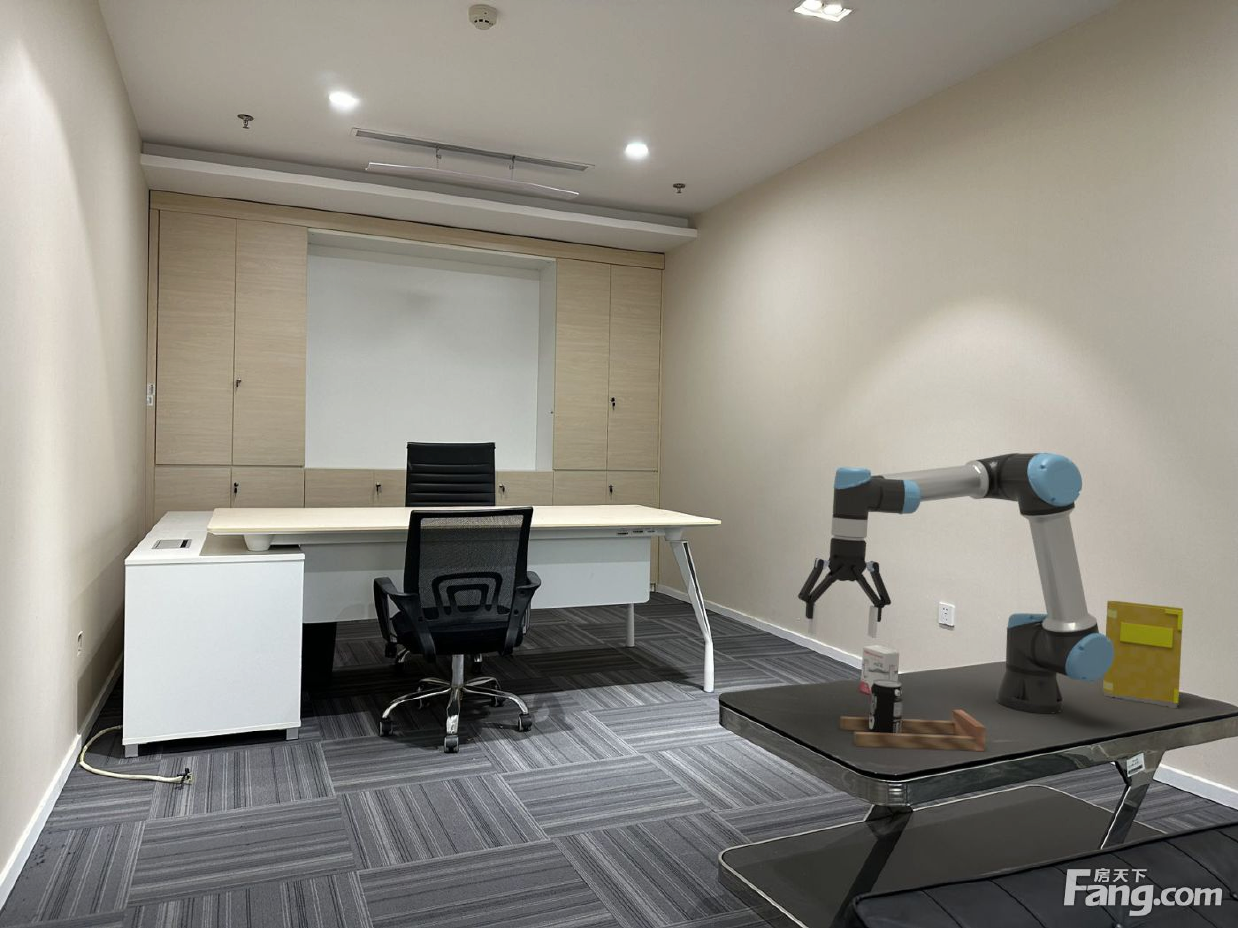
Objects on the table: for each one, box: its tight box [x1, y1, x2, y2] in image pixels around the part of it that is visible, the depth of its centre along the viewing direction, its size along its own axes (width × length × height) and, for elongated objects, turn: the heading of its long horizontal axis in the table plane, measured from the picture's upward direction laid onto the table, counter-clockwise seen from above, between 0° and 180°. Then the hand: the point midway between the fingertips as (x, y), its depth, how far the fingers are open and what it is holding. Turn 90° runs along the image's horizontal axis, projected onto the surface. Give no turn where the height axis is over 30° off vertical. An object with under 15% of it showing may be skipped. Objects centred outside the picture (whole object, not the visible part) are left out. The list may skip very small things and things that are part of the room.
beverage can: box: [868, 679, 904, 734], centre depth 184 cm, size 7×7×12 cm
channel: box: [839, 709, 987, 752], centre depth 184 cm, size 27×12×5 cm, turn 91°
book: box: [1102, 600, 1184, 704], centre depth 226 cm, size 17×7×25 cm, turn 58°
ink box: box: [860, 644, 900, 696], centre depth 219 cm, size 9×5×12 cm, turn 27°
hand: (842, 635), depth 187 cm, fingers open, 13 cm apart
